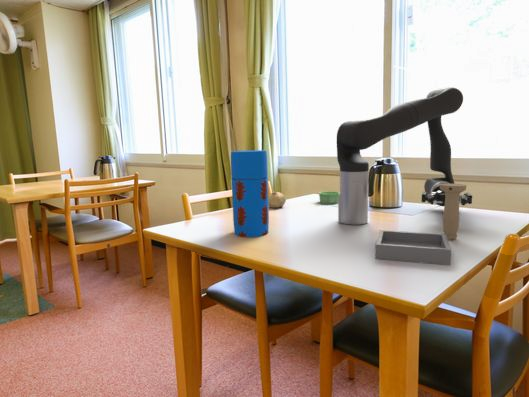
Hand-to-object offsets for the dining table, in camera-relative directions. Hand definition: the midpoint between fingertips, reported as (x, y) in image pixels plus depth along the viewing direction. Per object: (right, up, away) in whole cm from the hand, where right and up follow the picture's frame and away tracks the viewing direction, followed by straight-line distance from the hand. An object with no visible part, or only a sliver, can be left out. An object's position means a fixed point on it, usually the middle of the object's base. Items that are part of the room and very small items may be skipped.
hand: (447, 201), depth 113 cm
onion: (-50, -3, +44) cm, 66 cm away
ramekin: (-27, -1, +52) cm, 58 cm away
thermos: (-59, -10, +4) cm, 60 cm away
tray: (-19, -12, -20) cm, 30 cm away
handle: (-4, -10, -9) cm, 14 cm away
